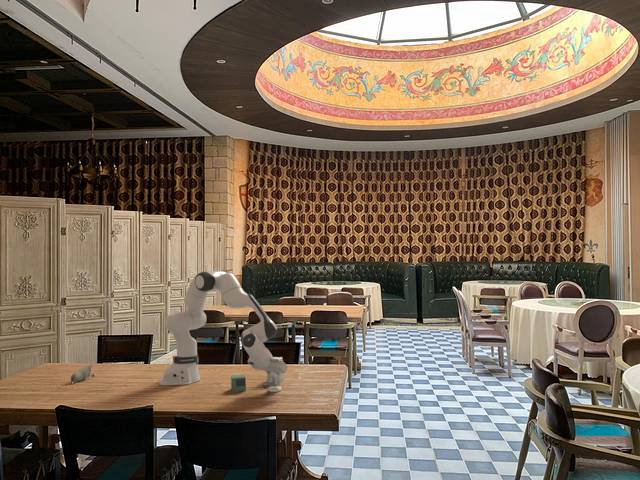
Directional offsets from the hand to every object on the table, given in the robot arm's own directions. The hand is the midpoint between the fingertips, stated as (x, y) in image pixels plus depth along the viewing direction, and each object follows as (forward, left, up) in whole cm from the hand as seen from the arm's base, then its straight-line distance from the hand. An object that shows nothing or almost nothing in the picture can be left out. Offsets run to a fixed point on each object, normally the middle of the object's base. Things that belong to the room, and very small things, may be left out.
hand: (275, 373), depth 262 cm
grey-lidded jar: (0, 0, -6) cm, 6 cm away
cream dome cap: (0, 0, -8) cm, 8 cm away
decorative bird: (-103, +56, -9) cm, 118 cm away
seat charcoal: (-1, +9, -8) cm, 12 cm away
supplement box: (+3, +18, -9) cm, 20 cm away
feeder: (-18, +7, -8) cm, 21 cm away
